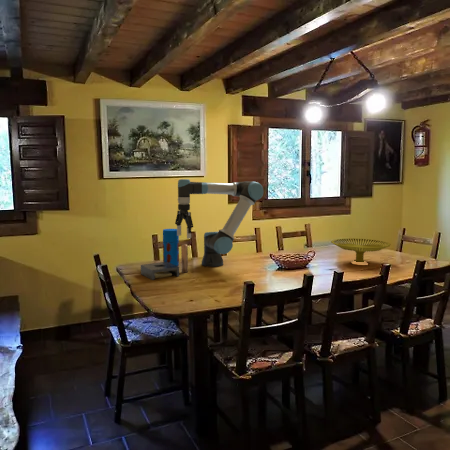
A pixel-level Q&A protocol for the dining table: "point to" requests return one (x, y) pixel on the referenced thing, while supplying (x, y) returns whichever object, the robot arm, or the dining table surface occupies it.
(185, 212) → the robot arm
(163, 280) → the dining table surface
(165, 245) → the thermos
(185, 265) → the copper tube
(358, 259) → the cake stand
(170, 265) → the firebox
